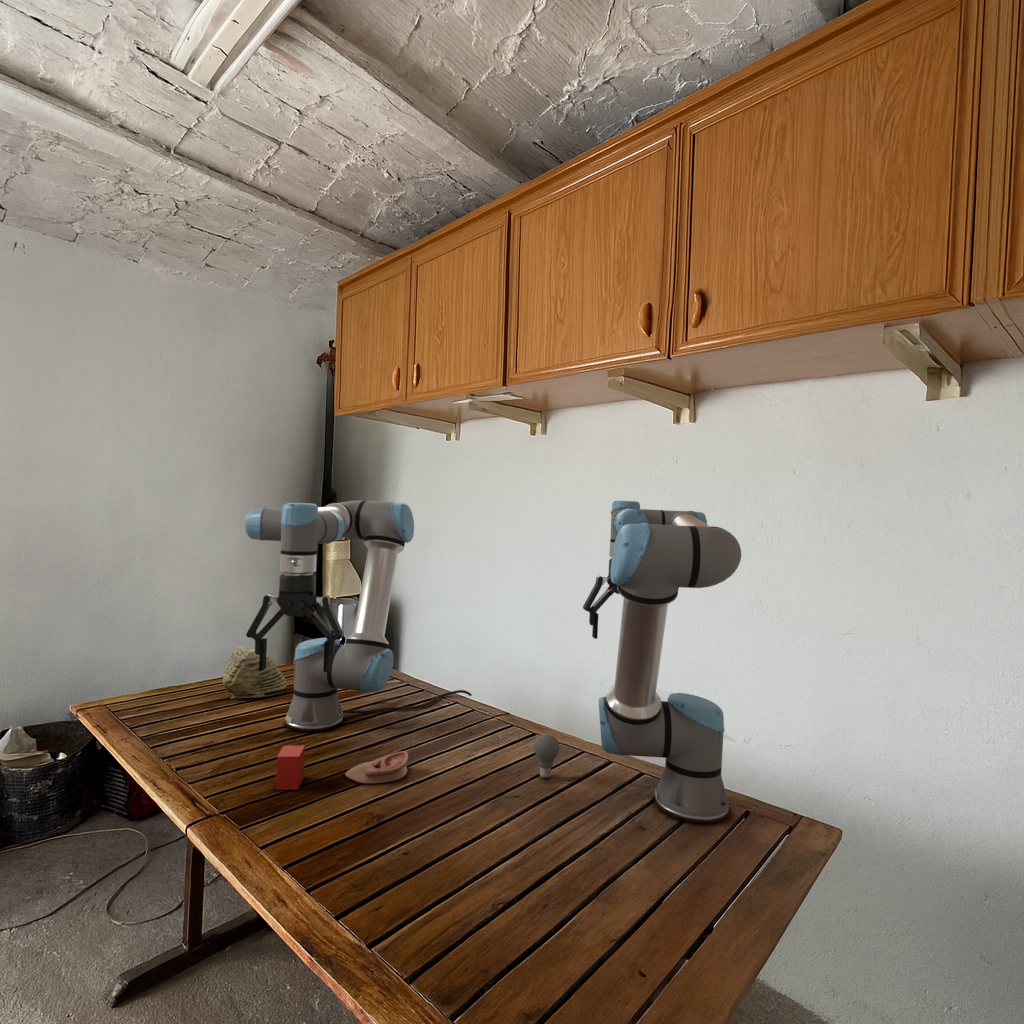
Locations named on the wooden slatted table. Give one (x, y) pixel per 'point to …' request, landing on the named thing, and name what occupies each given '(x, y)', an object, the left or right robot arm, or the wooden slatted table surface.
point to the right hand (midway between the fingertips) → (619, 638)
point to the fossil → (252, 676)
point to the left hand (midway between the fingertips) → (294, 670)
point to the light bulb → (546, 752)
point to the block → (290, 767)
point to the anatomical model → (380, 769)
